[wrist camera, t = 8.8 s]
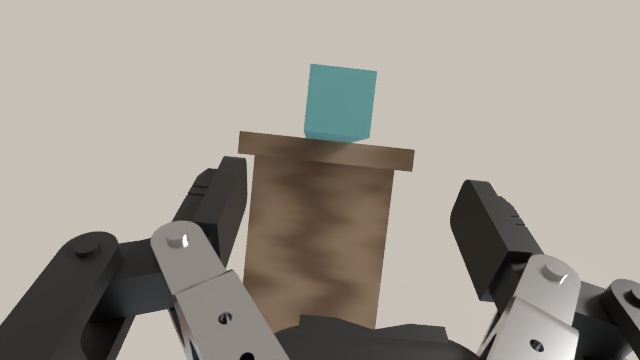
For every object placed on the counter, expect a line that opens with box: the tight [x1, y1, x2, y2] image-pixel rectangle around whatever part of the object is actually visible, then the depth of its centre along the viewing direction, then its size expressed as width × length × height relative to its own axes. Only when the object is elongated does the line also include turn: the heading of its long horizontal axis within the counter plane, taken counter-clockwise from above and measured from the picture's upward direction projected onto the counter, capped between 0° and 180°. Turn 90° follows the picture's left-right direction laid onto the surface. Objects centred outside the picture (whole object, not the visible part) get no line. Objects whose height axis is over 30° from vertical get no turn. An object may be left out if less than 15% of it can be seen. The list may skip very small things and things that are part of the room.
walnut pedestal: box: [238, 131, 415, 333], centre depth 31 cm, size 16×16×32 cm
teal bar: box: [304, 64, 377, 143], centre depth 28 cm, size 3×24×3 cm, turn 1°
